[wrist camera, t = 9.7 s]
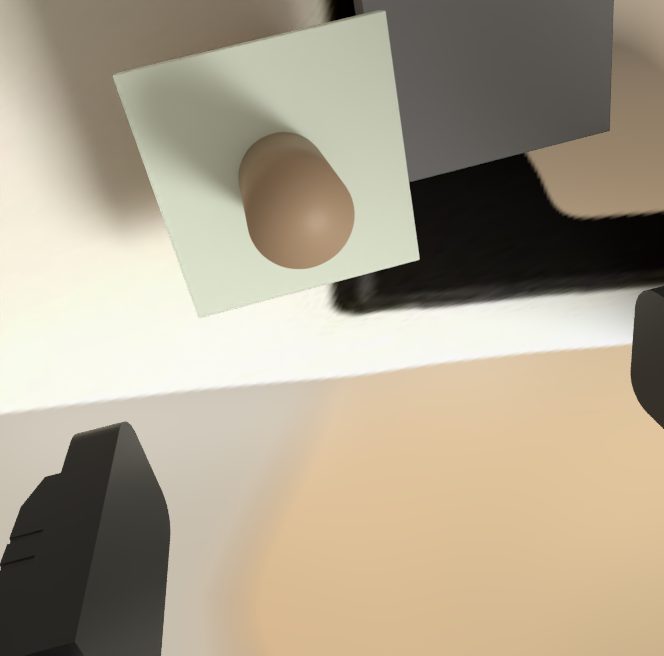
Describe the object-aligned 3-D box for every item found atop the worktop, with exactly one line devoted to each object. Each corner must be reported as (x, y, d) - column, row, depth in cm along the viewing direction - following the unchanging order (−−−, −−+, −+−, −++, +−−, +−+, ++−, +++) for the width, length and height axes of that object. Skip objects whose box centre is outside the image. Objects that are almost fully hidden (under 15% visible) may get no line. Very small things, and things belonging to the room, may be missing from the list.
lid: (379, 10, 21) (429, 16, 16) (413, 252, 25) (460, 310, 21) (115, 73, 20) (90, 97, 16) (198, 309, 25) (198, 381, 20)
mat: (595, -144, 23) (618, -151, 22) (590, 124, 28) (609, 130, 27) (339, -86, 23) (348, -90, 21) (381, 177, 28) (390, 187, 26)
